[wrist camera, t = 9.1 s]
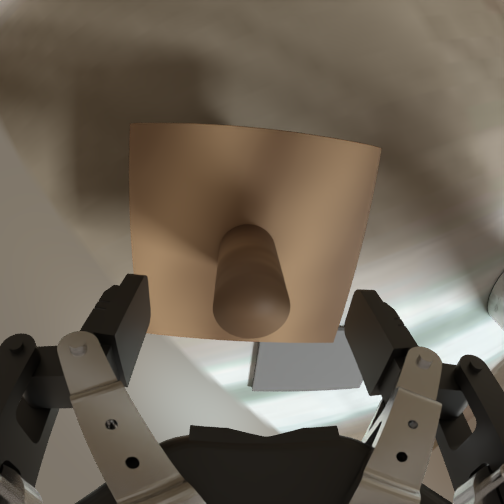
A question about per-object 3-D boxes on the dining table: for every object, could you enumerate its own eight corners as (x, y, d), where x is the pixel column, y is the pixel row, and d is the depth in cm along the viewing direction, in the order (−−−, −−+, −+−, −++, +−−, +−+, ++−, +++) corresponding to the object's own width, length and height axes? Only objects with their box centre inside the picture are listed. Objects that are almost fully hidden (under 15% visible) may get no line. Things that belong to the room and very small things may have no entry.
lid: (373, 145, 14) (439, 168, 9) (329, 332, 19) (354, 403, 14) (136, 123, 13) (79, 131, 8) (144, 322, 18) (119, 394, 13)
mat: (383, 326, 32) (385, 329, 31) (357, 384, 36) (359, 387, 35) (261, 325, 31) (262, 329, 30) (252, 387, 35) (252, 391, 34)
